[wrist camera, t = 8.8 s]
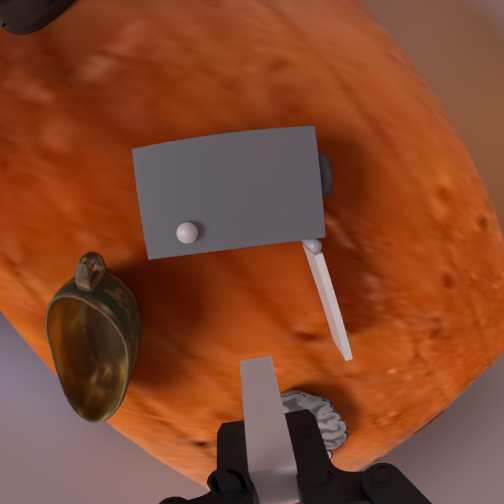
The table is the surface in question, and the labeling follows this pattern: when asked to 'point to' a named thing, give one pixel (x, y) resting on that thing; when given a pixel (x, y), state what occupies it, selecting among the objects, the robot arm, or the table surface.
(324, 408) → the brain slice
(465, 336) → the table surface
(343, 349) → the door
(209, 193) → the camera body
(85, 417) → the cup
